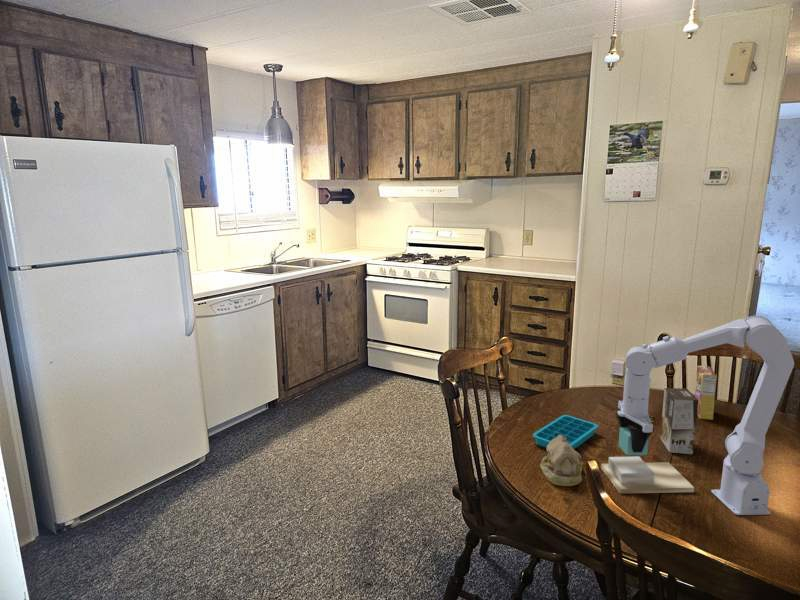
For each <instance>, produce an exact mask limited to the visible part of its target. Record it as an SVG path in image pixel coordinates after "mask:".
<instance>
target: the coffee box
mask: <svg viewBox="0 0 800 600" xmlns="http://www.w3.org/2000/svg"><path fill="white" fill-rule="evenodd" d="M662 401H663V402H662V413H661V425H660V426H661V427H660V428H661V429H660V438H659V439H660V440H661V442H662V443H663V445H664V446H665V448H666V449H667V451H668V453H670V454H671V453H674V454H683V455H684V454H685V455H693V453H694V448H695V447H694V444H695V438H696V435H695V434H696V427H697V425H696V424H697V418H698V415H697V410H698V401H699V400H698V399H697V398H696V397H695V394H693V393H692V392H691V391H690V390H689V389H688V388H680V387H679V388H675V387H673V388H672V387H671V388H667V387H664V389H663V399H662Z"/></svg>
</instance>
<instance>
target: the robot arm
mask: <svg viewBox="0 0 800 600" xmlns="http://www.w3.org/2000/svg"><path fill="white" fill-rule="evenodd" d="M745 343H746V344H747V346H748V348H750V349H751V350H752V351H754V352H755V353H756V354H758V355H759V356H760V357H761V359H762V360H763V364H762V367H761V370H760V372H759V375H758V377H757V379H756V380H757V381H756V383H755V385H754V388H753V390H752V393H751V396H750V397H749V400H748V403H747V405H746V408H745V411H744V413H743V415H742V418H741V419H740V420H741V421H740V423H738V424H737V425H735V428H734V430H733V432H731V433H730V434H728V435H727V437H726V438H725V441H724V446H725V449H726V451H727V453H728V454H727V455H726V456H725V458H724V459H723V463H722V464H723V465H722V470H721V471H722V474H721V481H720V489H711V491H710V492H711V494H713V495H714V496H715V497H716V498H717V499H719V501H720V502H721V503H723V504H724V505H725V506H726V507H727V508H728V509H729V510H730V511H731V512H732V513H733V514H734V515H737V516H755V515H757V516H758V515H760V516H762V515H767V516H768V515H771V511H770V510H769V509H768V506H769V499H770V492H771V491H770V490H771V489H770V486H769V484H768V483H767V482H766V481H765V479H764V478H763V476H762V469H763V468H764V465H765V461H764V457H763V456H764V451H765V450H766V434H767V432H768V430H769V427H770V425H771V422H772V420H773V417H774V415H775V412H776V410H777V407H778V405H779V403H780V400H781V398H782V396H783V393H784V392H785V391H784V390H785V388H786V386H787V384H788V381H789V378H790V377H791V374H792V371H793V369H794V368H795V367H794V366H795V361H794V357H793V355H792V351H791V348H790V346H789V343H788V339H787V337H786V336H785V335H784V334H783V333H782V332H781V331H780V330H779V329H778V328H777V327H776V326H775V325H774V324H773V323H772V321H770V319H768V318H767V317H764V316H762V315H750V316H748V317H746V318H739V319H735V320H733V321H732V320H731V321H730V322H728V323H724V324H722V325H719V326H716V327H714V328H711V329H708V330H705V331H702V332H700V333H696V334H694V335H691V336H688V337H686V338H680V337H677V336H672V337H670V336H669V335H666V336H663V337H662V340H657V341H656V342H652V343H650V344H647V343H643V344H642V346H640V345H639V346H633V347H631V348H629V350H628V351H627V353H626V355H625V366H626V369H625V376H624V384H623V394H622V395H623V397H622V400H618V403H617V408H618V409H619V410H618V411H617V412H616V413H615V417H616V419H617V421H618V424H619V428H620V427H628V428H629V430H630V434H631V440H632V450H633V452H642V451H643V448H644V446H645V443H646V441H647V439H648V438H649V439H650V436H651V435H652V434H653V433H654V432H655V428H654V425H653V424H654V423H653V422H650V418H649V416H650V414H649V400H650V389H651V377H650V374H651V371H652V370H653V369H655V368H660V367H664V366H666V365H671V364H674V363H677V362H678V363H679V362H681V361H684V360H686V358H687V355H688V354H689V353H693V352H697V351H701V350H706V349H708V348H712V347H717V346H720V345H725V344H729V345H733V346H736V347H739V348H745Z"/></svg>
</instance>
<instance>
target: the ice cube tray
mask: <svg viewBox="0 0 800 600" xmlns="http://www.w3.org/2000/svg"><path fill="white" fill-rule="evenodd" d="M598 428H599V424H597V423H594V422H591V421H588V420H584V419H581V418H577V417H575V416H571V415H569V414H563V415H561V416H559V417H557V418H556V419H555V420H552V421H551V422H549V423H548V424H547V425H545V426H543V427H542V428H540V429H539V430H536V431H535V432H533V433H532V437H533V438H534V439H535V444H536V445H537V446H540V447H542V448H545V449H546V448H547V445H548V444H549V442H550V441H551V440H552V439H554V438H556V437H557V436H558V435H562V436H565V437H566V439H567V442H568V443H569V444H570V445H571V447H572V448H573V449H574V450H575V449H576V448H578V447H580V445H582V444H583V443H584V442H586V441H587V440H588V439H590V438H591V437H593V436H594V434H595V430H596V429H598Z"/></svg>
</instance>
